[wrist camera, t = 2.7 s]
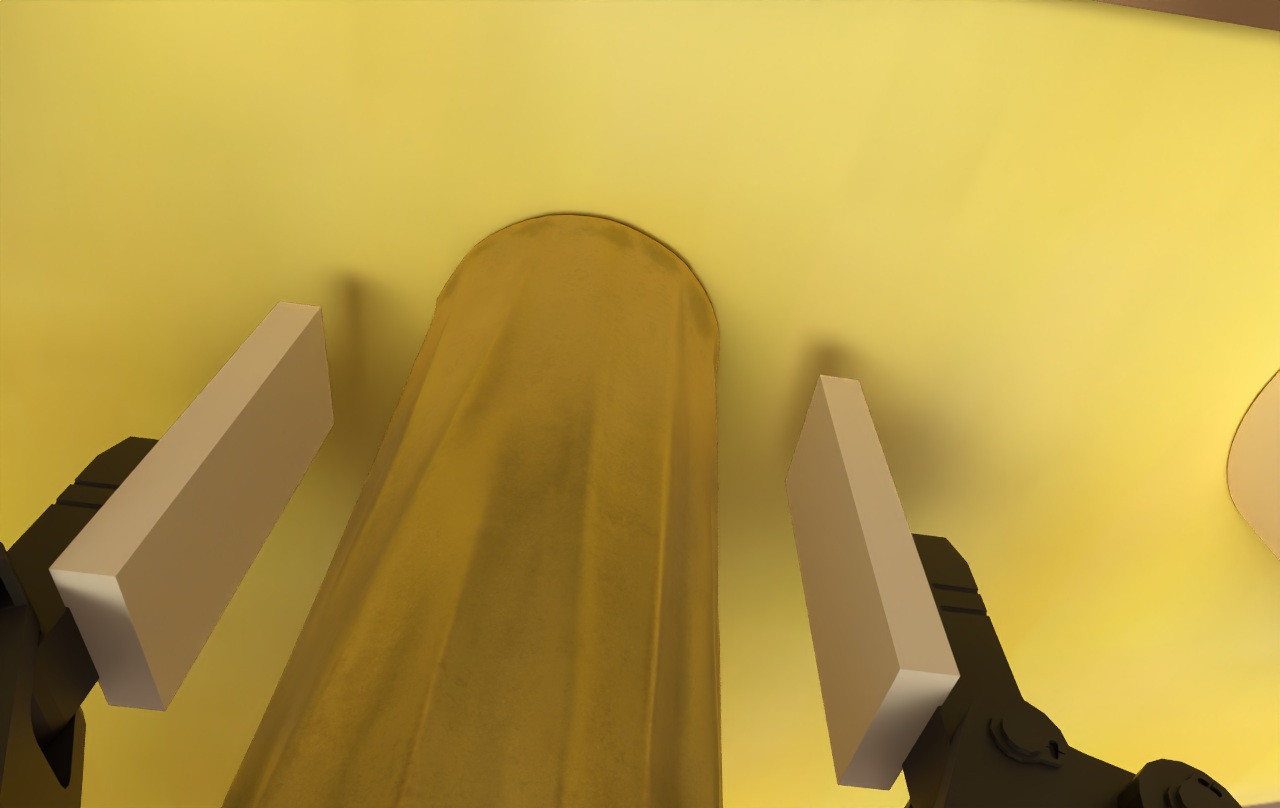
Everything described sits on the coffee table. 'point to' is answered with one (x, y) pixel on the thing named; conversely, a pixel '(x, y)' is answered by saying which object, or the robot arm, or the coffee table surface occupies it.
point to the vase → (524, 553)
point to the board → (1216, 10)
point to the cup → (1259, 466)
